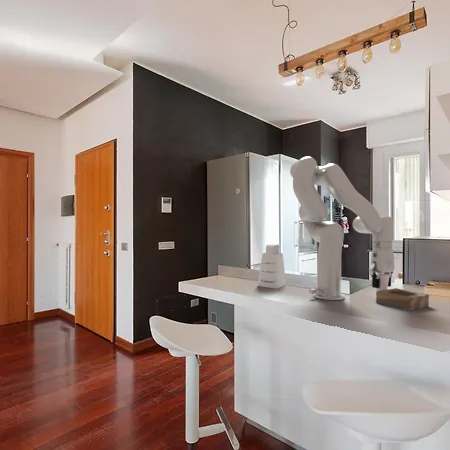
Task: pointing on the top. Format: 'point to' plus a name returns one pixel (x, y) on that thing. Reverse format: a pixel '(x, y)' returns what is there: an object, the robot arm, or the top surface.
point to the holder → (402, 299)
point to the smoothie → (383, 281)
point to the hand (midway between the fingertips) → (381, 286)
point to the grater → (272, 268)
